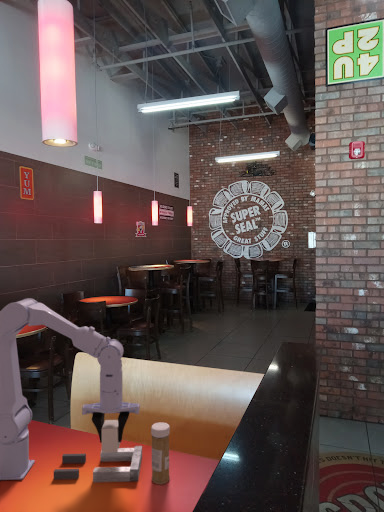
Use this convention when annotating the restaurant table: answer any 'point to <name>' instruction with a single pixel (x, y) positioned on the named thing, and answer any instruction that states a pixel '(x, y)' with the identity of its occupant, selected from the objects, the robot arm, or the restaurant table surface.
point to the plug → (110, 436)
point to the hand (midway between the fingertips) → (111, 440)
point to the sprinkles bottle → (160, 452)
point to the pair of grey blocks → (69, 472)
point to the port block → (119, 472)
